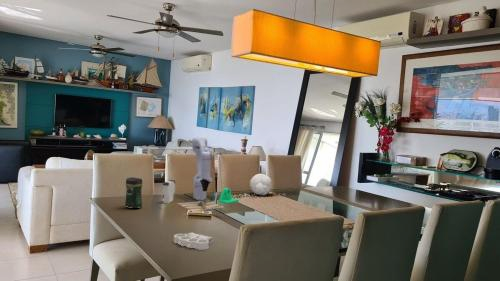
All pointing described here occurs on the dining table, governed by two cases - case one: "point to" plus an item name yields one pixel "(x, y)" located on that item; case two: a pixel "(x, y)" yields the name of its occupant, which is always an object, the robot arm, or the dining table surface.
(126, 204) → the coffee jar
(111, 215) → the dining table surface
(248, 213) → the dining table surface
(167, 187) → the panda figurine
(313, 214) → the dining table surface
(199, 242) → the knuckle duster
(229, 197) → the camera mount
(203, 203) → the bar with round base
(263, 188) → the decorative orb
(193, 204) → the base plate
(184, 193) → the dining table surface
